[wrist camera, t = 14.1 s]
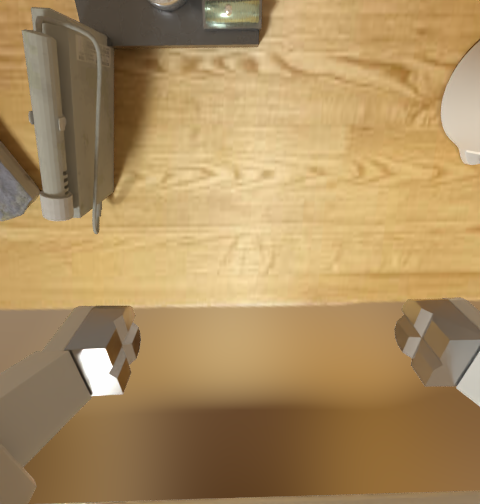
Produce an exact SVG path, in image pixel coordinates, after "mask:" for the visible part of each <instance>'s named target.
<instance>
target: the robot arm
mask: <svg viewBox="0 0 480 504" xmlns="http://www.w3.org/2000/svg"><path fill="white" fill-rule="evenodd" d="M441 120H442V125H443V128H444V131H445V133H446V134H447V136H448V137H449V139H450V140H451V141H452V142H454V143H455V144H456V145H457V147H458V148H459V152H460V156H461V159H462V161H463V163H465V164H469V165H475V164H480V41H479V42H478V43H477V44H476V45H474V46H473V47H472V48H471V49H470V50H469V52H468V53H467V54H466V55H465V56H464V57H463V59H462V60H461V61H460V63H459V64H458V66H457V67H456V69H455V70H454V72H453V74H452V76H451V77H450V80H449V82H448V84H447V86H446V89H445V92H444V96H443V100H442V106H441ZM402 312H403V313H404V316H403V317H402V318H400V319H399V320H398V321H397V323H396V326H395V338H396V341H397V344H398V346H399V347H400V349H401V351H402V352H403V353H405V354H406V355H407V356H409V357H411V358H412V362H411V366H412V367H413V369H414V370H415V372H416V373H417V375H418V376H419V378H420V380H421V381H422V383H423V384H424V385H425V386H457V387H456V388H457V389H458V390H460V391H461V392H462V393H463V394H465V395H466V396H467V397H468V398H470V399H471V400H472V401H473V402H475V403H476V404H477V405H479V406H480V311H479V310H478V309H477V308H475V307H474V306H473V305H472V304H471V303H470V302H469V301H467V300H465V299H463V298H461V297H459V298H442V299H408V300H407V301H406V302H405V303H404V305H403V307H402ZM134 318H135V313H134V310H133V307H131V306H78V307H76V308H74V309H73V311H72V312H71V313H70V314H69V316H68V317H67V319H66V320H65V321H64V322H63V324H62V325H61V326H60V328H59V329H58V330H57V332H56V333H55V334H54V336H53V337H52V338H51V340H50V341H49V342H48V343H47V345H46V346H45V347H44V349H43V350H42V351H36V352H34V353H33V354H31V355H29V356H28V357H26V358H24V359H23V360H21V361H20V362H18V363H16V364H15V365H13V366H11V367H10V368H8V369H7V370H5V371H3V372H2V373H0V504H28V503H29V501H30V499H31V496H32V494H33V492H34V490H35V488H36V484H35V480H34V479H33V478H32V477H31V476H30V475H29V474H28V473H27V472H26V470H25V469H24V468H23V467H24V466H25V465H26V464H27V463H28V462H29V461H30V460H31V459H32V458H33V457H34V456H35V455H36V454H37V453H38V452H39V451H40V450H41V449H42V448H43V447H44V446H45V445H46V444H47V443H48V442H49V441H50V440H51V439H52V438H53V437H54V436H55V435H56V433H58V431H59V430H60V429H61V428H62V427H63V426H64V425H65V424H66V423H67V422H68V421H69V420H70V419H71V418H72V417H73V416H74V415H75V414H76V413H77V412H78V411H79V410H80V409H81V408H82V407H83V406H84V405H85V404H86V403H87V402H88V401H89V400H90V399H91V396H98V395H114V394H115V395H116V394H123V393H124V390H125V388H126V385H127V382H128V380H129V377H130V374H131V370H130V367H129V364H131V363H132V362H133V361H134V360H135V359H136V358H137V355H138V352H139V349H140V341H141V338H140V330H139V327H138V326H137V325H136V324H134V323H133V320H134ZM53 504H480V491H454V492H421V493H388V494H387V493H386V494H353V495H319V496H287V497H255V498H254V497H253V498H219V499H189V500H187V499H186V500H152V501H119V502H88V503H87V502H86V503H53Z"/></svg>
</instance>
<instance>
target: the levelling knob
mask: <svg viewBox="0 0 480 504" xmlns="http://www.w3.org/2000/svg"><path fill="white" fill-rule="evenodd" d="M148 1H149V2H150V3H151V4H152V5H153V6H155V7H156V8H158V9H161V10H165V11H172V10H175V9H178V8H179V7H181V6H182V5H183V4H184V3H185V2H186V0H148Z"/></svg>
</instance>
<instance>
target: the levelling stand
mask: <svg viewBox="0 0 480 504" xmlns="http://www.w3.org/2000/svg"><path fill="white" fill-rule="evenodd" d="M75 3H76V7H77V11H78V16H79V20H80V23H82V24H84V25H86V26H88V27H91V28H93V29H95V30H97V31H98V32H100V33H102V34H104V35H106V36H107V46H108V47H111V48H114V49H128V48H216V47H258V45H259V30H261V24H262V0H186V2H185V3H184V4H183V5H182V6H181V7H179V8H178V9H175V10H172V11H165V10H161V9H158V8H156V7H155V6H153V5H152V4H151V3H150V2H149V1H148V0H75Z"/></svg>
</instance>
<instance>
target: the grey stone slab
mask: <svg viewBox="0 0 480 504" xmlns="http://www.w3.org/2000/svg"><path fill="white" fill-rule="evenodd" d="M39 195H40V190H39V188H38V186H37V185H36V184H35V182H34V181H33V180H32V179H31V177H30V176H29V175H28V174H27V173H26V171H25V170H24V169H23V168H22V167H21V165H20V164H19V163H18V162H17V160H16V159H15V158H14V157H13V155H12V154H11V153H10V152H9V150H8V149H7V148H6V147H5V145H4V144H3V143H2V142H1V140H0V221H5V220H9V219H12V218H15V217H17V216H21V215H22V214H24V212H25V210H26V209H27V208H28V207H29V206H30V204H31V203H33V202H34V200H35V199H36V198H37V197H38V196H39Z"/></svg>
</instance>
